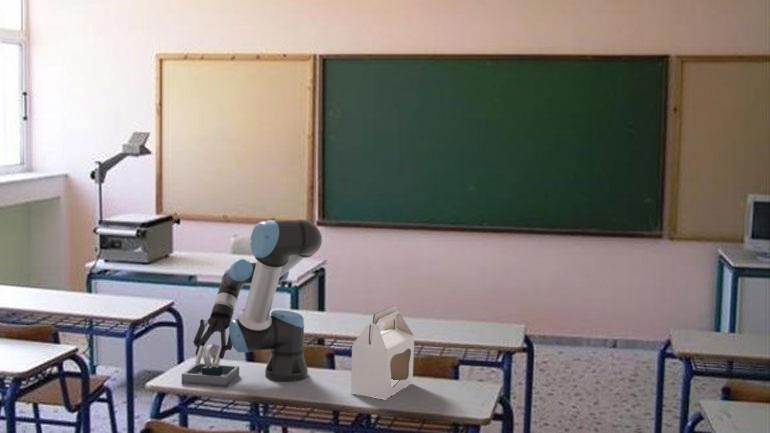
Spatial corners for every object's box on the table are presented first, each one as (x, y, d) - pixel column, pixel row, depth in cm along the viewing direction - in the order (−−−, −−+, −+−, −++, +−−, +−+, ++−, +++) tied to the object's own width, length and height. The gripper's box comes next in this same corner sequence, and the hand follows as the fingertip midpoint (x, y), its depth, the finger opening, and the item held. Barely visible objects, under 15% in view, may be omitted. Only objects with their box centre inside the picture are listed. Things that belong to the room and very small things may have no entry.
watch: (224, 373, 333) (223, 342, 332) (213, 378, 325) (212, 347, 324) (210, 372, 335) (209, 342, 334) (199, 377, 327) (198, 346, 326)
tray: (239, 375, 335) (239, 366, 334) (225, 387, 321) (226, 377, 321) (196, 372, 338) (196, 362, 337) (181, 383, 324) (181, 373, 323)
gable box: (385, 401, 312) (387, 318, 309) (350, 394, 318) (352, 313, 315) (413, 383, 332) (415, 306, 329) (379, 377, 338) (382, 301, 334)
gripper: (251, 316, 341) (235, 372, 328) (201, 311, 344) (183, 367, 331) (247, 305, 335) (230, 362, 322) (196, 300, 339) (177, 356, 325)
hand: (206, 364), depth 326 cm, fingers open, 6 cm apart
